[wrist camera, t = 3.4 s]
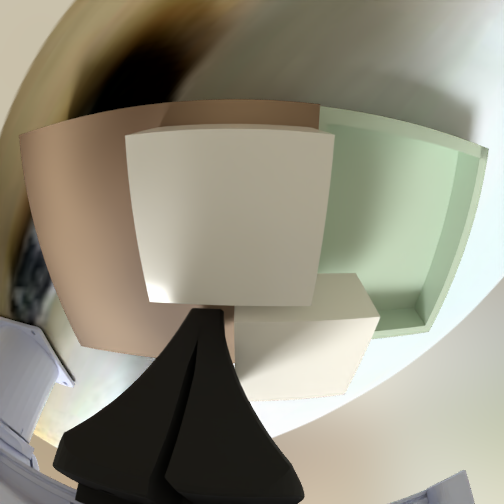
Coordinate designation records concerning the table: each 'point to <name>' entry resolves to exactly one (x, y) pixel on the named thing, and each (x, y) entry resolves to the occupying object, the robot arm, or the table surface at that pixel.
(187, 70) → the table surface
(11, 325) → the robot arm
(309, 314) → the tile
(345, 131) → the tray
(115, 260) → the board
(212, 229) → the tile
